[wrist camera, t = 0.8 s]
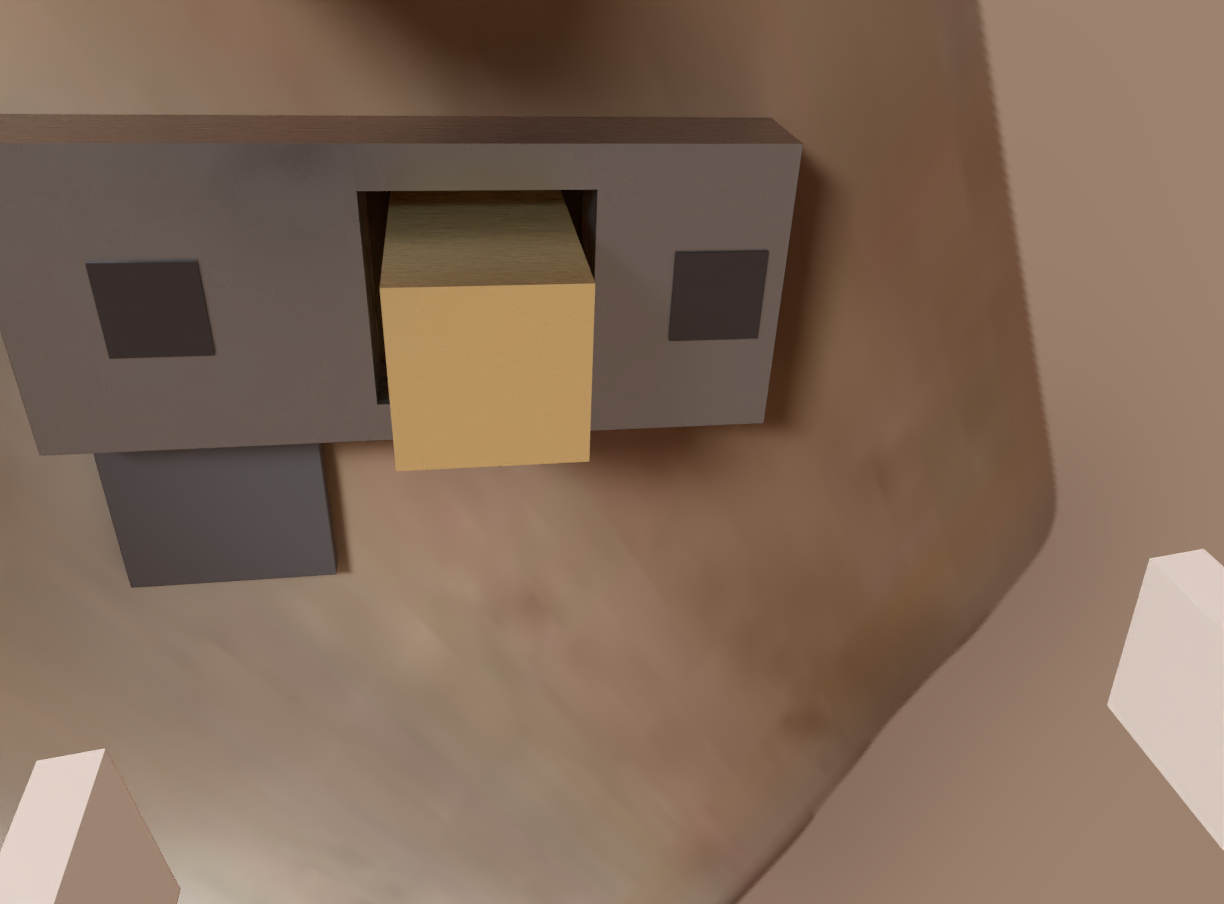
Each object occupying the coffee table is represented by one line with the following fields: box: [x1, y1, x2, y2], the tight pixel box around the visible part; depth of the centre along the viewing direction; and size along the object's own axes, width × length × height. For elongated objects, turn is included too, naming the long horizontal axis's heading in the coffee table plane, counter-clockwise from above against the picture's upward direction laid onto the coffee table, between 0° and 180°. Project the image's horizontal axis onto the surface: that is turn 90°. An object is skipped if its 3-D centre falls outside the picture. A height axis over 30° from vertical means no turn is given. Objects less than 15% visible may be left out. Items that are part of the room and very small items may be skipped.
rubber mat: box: [93, 443, 337, 588], centre depth 33 cm, size 7×7×1 cm
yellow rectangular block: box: [380, 190, 595, 471], centre depth 27 cm, size 5×5×8 cm
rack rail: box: [0, 114, 803, 456], centre depth 29 cm, size 22×9×3 cm, turn 88°
